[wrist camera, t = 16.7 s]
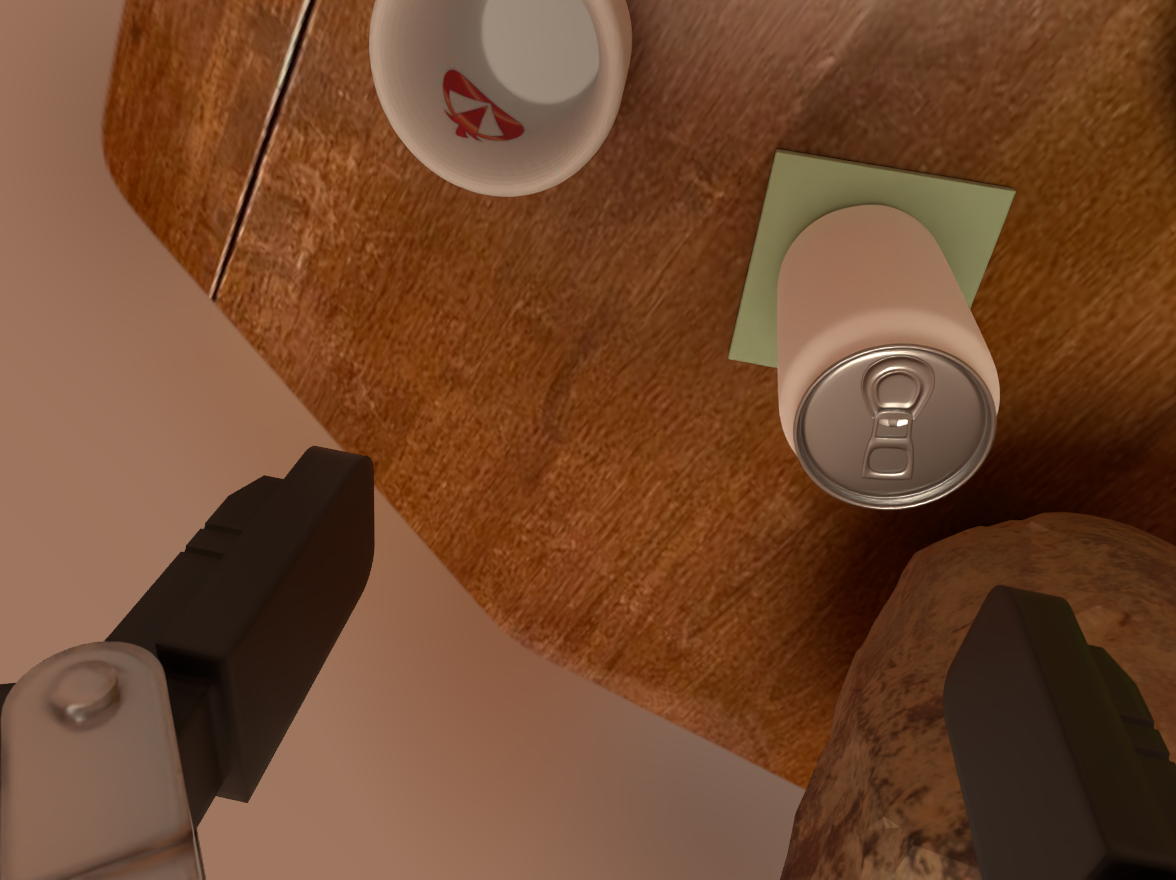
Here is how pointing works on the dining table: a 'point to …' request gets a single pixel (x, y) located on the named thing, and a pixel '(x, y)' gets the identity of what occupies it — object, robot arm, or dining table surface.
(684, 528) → the dining table surface
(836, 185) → the mat
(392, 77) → the cup
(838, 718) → the tan rounded container
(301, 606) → the robot arm
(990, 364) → the can
